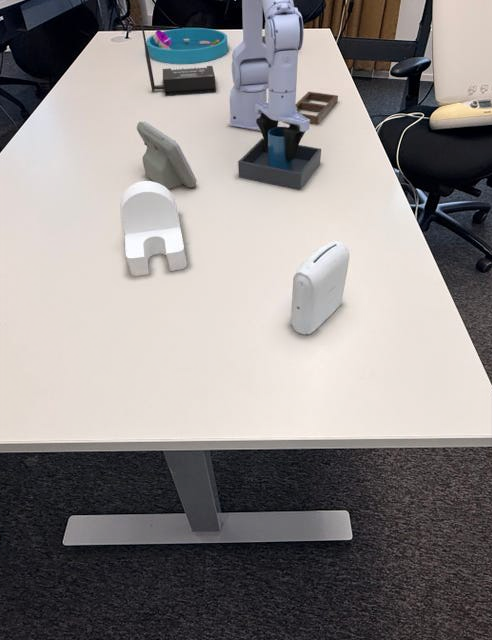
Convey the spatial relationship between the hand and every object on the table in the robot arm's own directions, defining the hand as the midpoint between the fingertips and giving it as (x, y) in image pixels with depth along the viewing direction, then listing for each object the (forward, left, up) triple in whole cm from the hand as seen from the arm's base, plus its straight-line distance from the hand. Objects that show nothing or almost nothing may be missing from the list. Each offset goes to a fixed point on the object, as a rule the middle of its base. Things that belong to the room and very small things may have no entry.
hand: (280, 155), depth 99 cm
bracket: (-11, -36, -4) cm, 38 cm away
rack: (-5, +37, -4) cm, 37 cm away
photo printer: (+24, -43, -4) cm, 49 cm away
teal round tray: (-68, +74, -4) cm, 101 cm away
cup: (0, 0, -3) cm, 3 cm away
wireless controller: (-50, +40, -4) cm, 64 cm away
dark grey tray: (0, 0, -4) cm, 4 cm away
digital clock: (-22, -13, -4) cm, 26 cm away
